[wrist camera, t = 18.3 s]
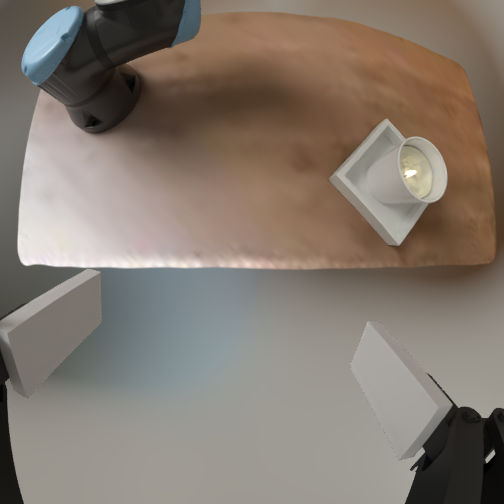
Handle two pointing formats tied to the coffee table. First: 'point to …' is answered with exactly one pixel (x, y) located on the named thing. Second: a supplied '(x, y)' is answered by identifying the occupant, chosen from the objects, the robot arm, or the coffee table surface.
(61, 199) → the coffee table surface
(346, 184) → the lipped tray
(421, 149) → the candle holder
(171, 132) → the coffee table surface
